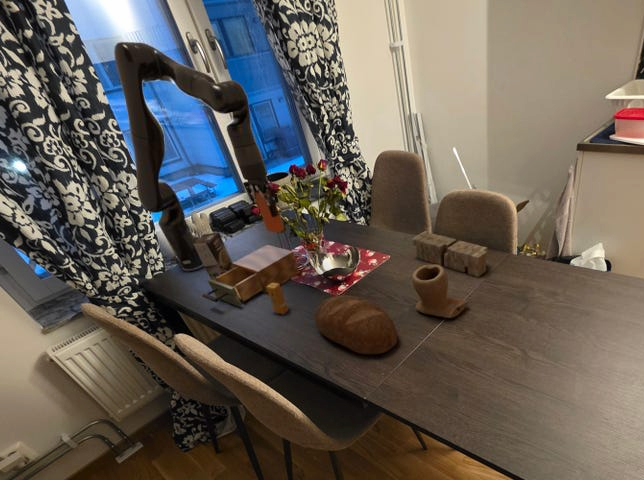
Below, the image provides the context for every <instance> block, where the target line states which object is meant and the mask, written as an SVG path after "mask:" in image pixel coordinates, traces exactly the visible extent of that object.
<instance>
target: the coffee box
mask: <svg viewBox="0 0 644 480" xmlns="http://www.w3.org/2000/svg"><path fill="white" fill-rule="evenodd" d="M195 241H196V242H195V243H194V246H195V248H196V250H197V252H198V254H199V256H200V259H201V261H202V263H203V265H204V267H203V268H204V269H205V271H206V273H207V275H208V276H209V279H212V280H215V281H217V280H216V277H218V276H220V275H222V274H224V273H226V272H228V271H229V270H231V269H233V268H234V266H233V264H232V263H233V261H232V258H231V256H230V254H229V251H228V250H227V247H226V245H225V243H224V240H223V238H222V236H221V233H220V232H210V233H204V234H202V235H201V236H200V237H199V238H198V239H197V240H195Z"/></svg>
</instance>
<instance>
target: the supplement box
mask: <svg viewBox="0 0 644 480" xmlns="http://www.w3.org/2000/svg"><path fill="white" fill-rule="evenodd" d="M266 288H267V290H268V293H267V294H268V296H269V298H270V301H271V303H272V307H273V309H274V312H275V314H279V315H285V314H286V313H287V312H289V307H288V304H287V301H286V298H285V296H284V292H283V290H282V287H281V285H280V284H277V283H271V284H269V285H268V286H267V287H266Z"/></svg>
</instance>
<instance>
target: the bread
mask: <svg viewBox="0 0 644 480" xmlns="http://www.w3.org/2000/svg"><path fill="white" fill-rule="evenodd" d="M314 321H315V326H316V327H317V329H318V331H319V332H320V333H321V334H322V335H323V336H324V337H325V338H327V339H328V340H330V341H332V342H334V343H336V344H338V345H340V346H343V347H345V348H347V349H348V350H351V351H353V352H354V353H357V354H362V355H380V354H384V353H387V352H388V351H389V350H391V349H392V348H393V347H395V345H396V344H397V341H398V332H397V327H396V326H395V323H394V322H393V319H391V317H390V315H389V314H388V313H387V312H386V311H385V310H383V309H382V308H381V307H380V306H379V305H377V304H376V303H374V302H372V301H370V300H367V299H365V298H363V297H360V296H356V295H347V294H341V295H334V296H331V297H329V298H327V299H324V300H323V301H322V302H321V303H320V304H319V306H318V307H317V308H316V311H315V312H314Z"/></svg>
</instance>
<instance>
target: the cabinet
mask: <svg viewBox="0 0 644 480" xmlns="http://www.w3.org/2000/svg"><path fill="white" fill-rule="evenodd" d="M232 264H233V266H234V268H235V267H240V268H243V269H246V270H249V271H252V272H255V273H258V276H259V278H260V281H261V283H262V286H263V288H264V289H263V290H261V291H260V292H262V293H264V294H269V293H268V290H267V288H266V287H267V286H268V285H269V284H271V283H277V284H280V286H281V285H283V284H284V283H287V281H290V280H291V279H293V278H294V277H296V276H297V275H299V274H300V273H301V272H300V269H299V265H298V262H297V259H296V256H295V252H294V251H293V250H289V249H285V248H282V247H278V246H275V245H270V244H265V245H264V246H262V247H259V248H258V249H255V250H254V251H252V252H250V253H248V254H246V255H245V256H243V257H241V258H239V259H238V260H236V261H233V262H232Z"/></svg>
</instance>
